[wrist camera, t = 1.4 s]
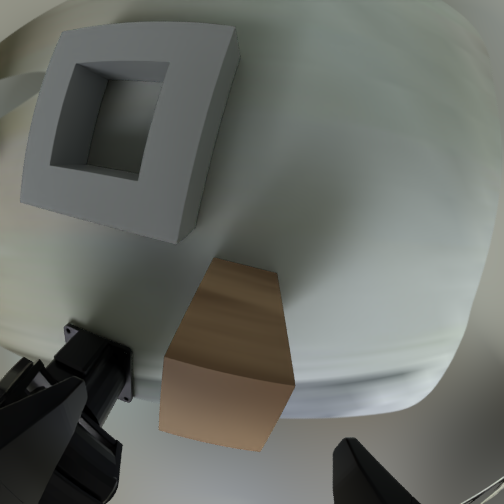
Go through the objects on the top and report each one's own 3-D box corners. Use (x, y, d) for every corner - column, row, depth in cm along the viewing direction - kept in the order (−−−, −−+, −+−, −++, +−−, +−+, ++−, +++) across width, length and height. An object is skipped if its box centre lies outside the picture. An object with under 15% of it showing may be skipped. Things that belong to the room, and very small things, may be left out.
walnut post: (260, 327, 18) (260, 452, 9) (201, 312, 18) (158, 430, 9) (276, 273, 17) (295, 385, 8) (213, 257, 17) (164, 356, 7)
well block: (195, 228, 17) (176, 244, 13) (56, 194, 16) (20, 202, 12) (240, 56, 14) (235, 26, 10) (92, 50, 13) (62, 31, 9)
